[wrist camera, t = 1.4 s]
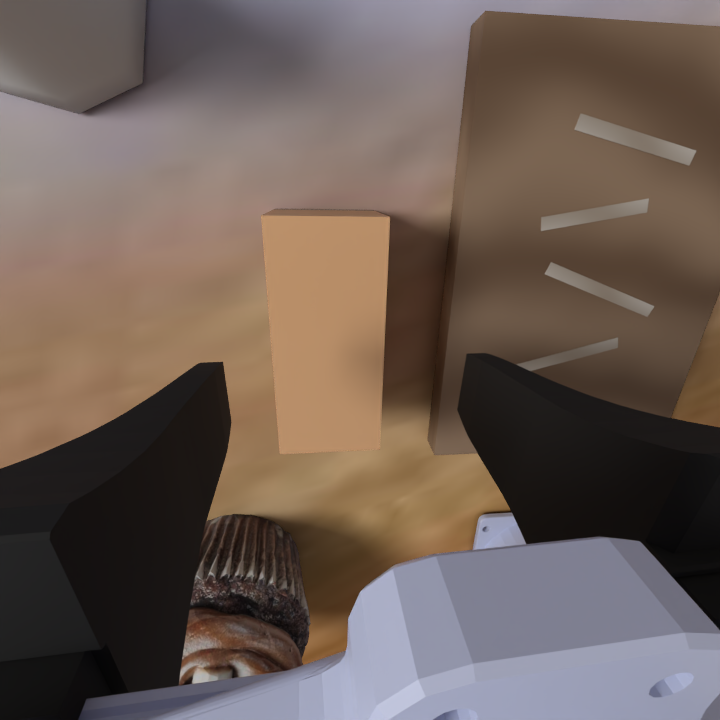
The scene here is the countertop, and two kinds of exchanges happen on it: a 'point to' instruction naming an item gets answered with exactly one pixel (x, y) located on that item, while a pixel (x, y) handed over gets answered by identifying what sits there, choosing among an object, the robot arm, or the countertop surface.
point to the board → (582, 209)
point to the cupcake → (245, 603)
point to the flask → (71, 50)
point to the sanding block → (327, 325)
